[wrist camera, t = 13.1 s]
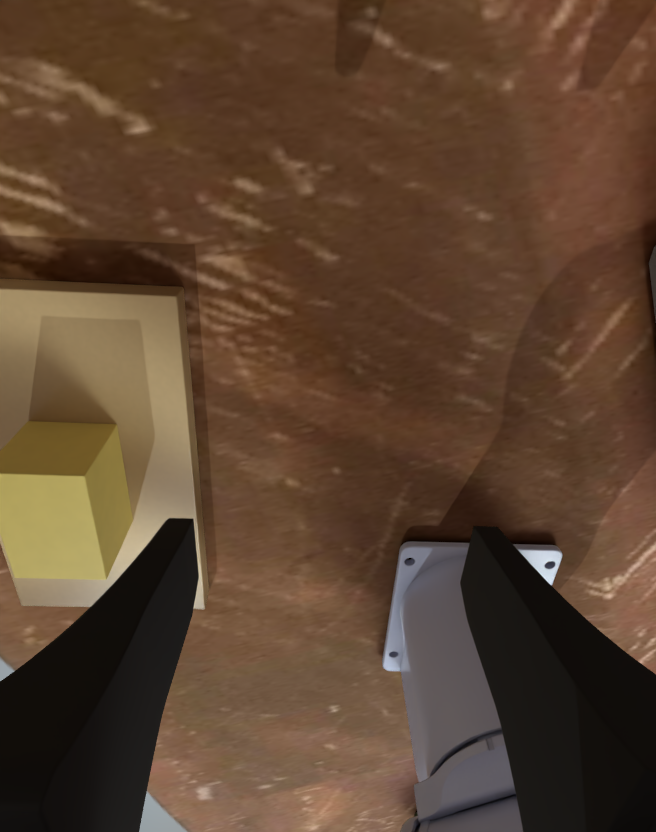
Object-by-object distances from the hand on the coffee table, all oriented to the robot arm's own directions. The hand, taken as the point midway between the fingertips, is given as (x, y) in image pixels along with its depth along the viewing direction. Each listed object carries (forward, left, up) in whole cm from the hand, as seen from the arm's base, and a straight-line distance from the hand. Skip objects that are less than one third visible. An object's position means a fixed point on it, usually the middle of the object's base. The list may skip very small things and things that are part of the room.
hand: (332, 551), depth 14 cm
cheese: (-4, +10, -8) cm, 13 cm away
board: (-4, +10, -9) cm, 14 cm away
